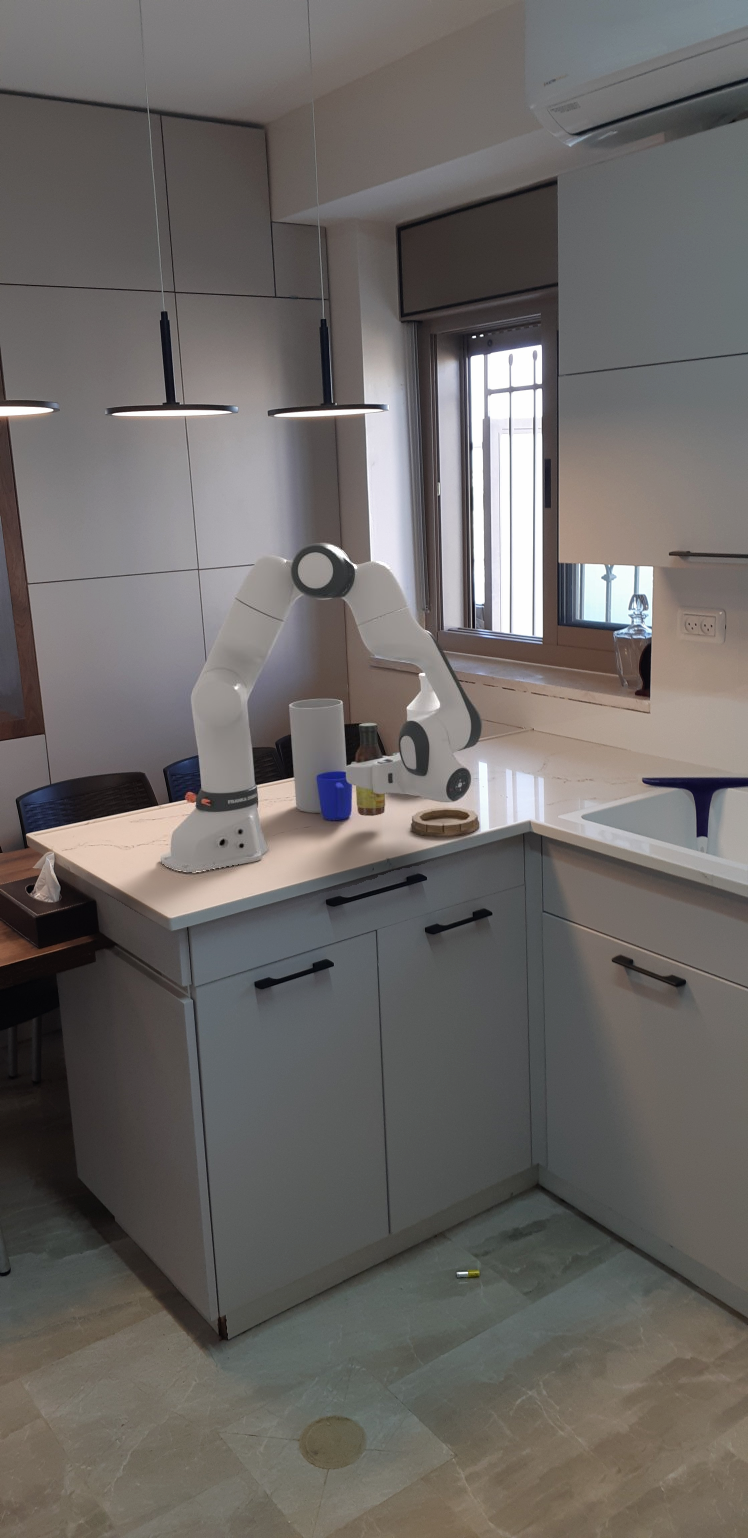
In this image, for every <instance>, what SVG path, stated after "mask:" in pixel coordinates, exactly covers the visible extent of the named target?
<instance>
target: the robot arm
mask: <svg viewBox="0 0 748 1538" xmlns="http://www.w3.org/2000/svg"><path fill="white" fill-rule="evenodd" d="M302 596H306V597H308V598H311V599H316V600H321V601H323V600H330V599H339V598H340V599H342V600H343V601H345V602H346V604H347V605H348V606H349V608H350V610H351V613H352V615H353V618H354V620H355V624H356V626H357V630H358V632H359V634H360V638H361V640H362V642H363V644H364V646H365V647H366V648H367V650H368V651H369V652H370V653H371V654H372V655H374V656H375V657H378V658H380V659H383V660H386V661H391V662H393V661H395V662H405V663H409V664H412V665H415V666H416V667H418V668H419V669H420V670H421V671H422V673H424V674H425V675H426V677H427V679H428V681H429V683H430V685H431V687H432V689H433V691H434V693H435V694H436V696H437V698H438V700H439V703H440V707H439V708H438V709H436V710H433V711H431V712H429V713H426V714H423V715H420V716H418V717H416V718H414V719H411V720H409V721H405V722H404V723H403V724H402V726H401V728H400V731H399V734H398V752H399V753H398V752H396V753H397V754H396V755H394V756H392V755H390V756H388V755H382V756H383V758H380V759H375V760H371V761H366V762H358V761H357V762H356V761H351V763H350V764H347V765H346V780H347V782H348V783H350V784H352V786H354V787H356V786H358V787H361V788H365V789H373V792H374V793H376V794H385V795H387V794H401V795H405V794H406V795H411V796H413V797H414V796H415V797H418V796H419V797H422V798H423V799H425V800H430V801H434V802H438V803H439V802H440V803H454V802H458V801H459V800H460V799H462V798H463V797H464V796H465V795H466V794H467V792H468V791H469V788H470V787H471V783H472V774H471V771H470V770H469V769H468V768H467V767H466V766H464V765H463V764H461V763H460V761H459V760H458V758H456V756H455V755H454V753H456V752H459V751H464V750H466V749H469V748H472V747H474V746H476V745H477V744H478V742H479V740H480V737H481V736H482V735H481V734H482V731H483V719H482V717H481V715H480V712H479V710H478V709H477V708H476V707H475V705H474V703H473V702H472V701H471V700H470V698H469V697H468V695H467V694H466V692H465V690H464V688H463V686H462V684H461V682H460V681H459V678H458V677H457V674H456V673H455V670H454V669H453V667H452V665H451V663H450V662H449V660H448V657H447V656H446V654H445V652H444V650H443V648H442V646H441V644H440V642H439V641H438V640H437V639H436V637H435V636H434V634H433V633H432V632H430V631H428V630H426V629H424V628H423V627H421V624H419V622H418V621H417V620H416V619H415V617H414V615H413V613H412V611H411V608H410V607H409V604H408V601H407V598H406V595H405V593H404V591H403V589H402V587H401V585H400V583H399V581H398V580H397V577H396V576H395V574H394V572H393V571H392V569H391V568H390V567H389V565H387V564H386V563H384V562H383V561H379V560H377V561H376V560H375V561H374V560H373V561H371V560H370V561H367V562H363V563H359V564H355V563H353V561H352V559H351V558H350V556H349V555H348V554H347V553H346V551H344V550H343V549H341V547H339V546H337V545H335V544H332V543H329V542H314V543H311V544H310V543H309V544H307V545H305V546H303V547H302V548H301V549H299V550H298V552H296V554H295V556H294V557H293V559H291V560H290V559H289V560H288V559H287V558H284V557H281V556H278V555H274V554H273V555H271V554H270V555H264V556H261V557H259V559H257V560H256V561H255V563H254V564H253V566H252V567H251V568H250V570H249V571H248V573H247V575H246V576H245V578H244V579H243V581H242V583H241V585H240V587H239V589H238V591H237V593H236V595H235V597H234V599H233V601H232V603H231V605H230V608H229V610H228V612H227V614H226V617H225V619H224V621H223V623H222V626H221V628H220V630H219V632H218V635H217V636H216V639H215V640H214V641H215V642H214V644H213V645H212V648H211V650H210V652H209V654H208V657H207V659H206V661H205V663H204V665H203V668H202V670H201V672H200V675H199V676H198V679H197V680H196V683H195V685H194V686H193V689H192V692H191V695H190V704H191V713H192V719H193V726H194V727H193V729H194V734H195V740H196V746H197V747H196V748H197V752H198V753H197V754H198V763H199V764H198V765H199V774H200V784H201V788H200V789H199V792H198V793H197V794H196V793H193V792H191V791H189V792H186V795H184V796H185V797H184V799H185V801H187V802H188V803H192V804H194V803H195V808H194V809H193V810H192V811H191V812H190V813H189V814H188V816H186V818H185V819H183V821H182V822H181V823H180V824H179V825H177V827H176V828H175V829H174V830H173V831H172V834H171V837H170V838H171V839H170V852H168V853H164V854H162V855H161V856H160V863H161V862H162V864H164V865H166V866H168V867H170V868H173V869H177V870H181V871H186V872H196V871H203V870H209V869H213V868H219V867H224V868H226V867H225V866H229V867H233V866H232V865H234V866H237V865H238V864H239V865H243V864H247V863H253V862H258V861H260V860H262V858H263V855H264V854H265V853H266V852H267V851H268V849H269V848H268V845H267V842H266V840H265V837H264V834H263V831H262V826H261V821H260V816H259V811H258V807H259V792H258V785H257V784H256V782H255V769H254V768H255V767H254V757H253V756H254V755H253V746H252V739H251V738H252V737H251V731H250V722H249V711H248V709H249V708H248V700H249V697H250V695H251V693H252V691H253V689H254V687H255V684H256V683H257V681H258V678H259V676H260V674H261V672H262V671H263V669H264V666H265V665H266V662H267V660H268V659H269V656H270V655H271V652H272V650H273V648H274V647H275V643H276V642H277V639H278V637H279V635H280V634H281V631H282V628H283V626H284V625H285V622H286V620H287V618H288V617H289V614H290V611H291V609H292V607H293V605H295V602H296V601H297V600H298V599H299V598H301V597H302ZM162 864H161V865H162ZM164 865H163V866H164ZM219 869H220V868H219ZM209 871H210V870H209Z"/></svg>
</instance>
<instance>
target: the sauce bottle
mask: <svg viewBox="0 0 748 1538" xmlns="http://www.w3.org/2000/svg"><path fill="white" fill-rule="evenodd" d="M378 728H379V727H378V724H377V723H374V722H366V723H365V722H363V723H361V724H359V725H358V731H359V736H360V737H359V739H360V740H359V743H360V746H359V748H358V749H357V751H356V752H355V758H354V759H355V762H357V761H358V762H366V761H371V760H375V759H380V758H383V756H384V755H383V754H382V752H381V749H380V746H379V742H378V730H379V729H378ZM355 792H356V797H355V798H356V807H357V814H358V815H361V816H365V817H366V816H369V817H373V816H380V815H382V814H384V813H385V806H386V794H376V793H374V792H373V789H365V788H361V787H358V786H355Z"/></svg>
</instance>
